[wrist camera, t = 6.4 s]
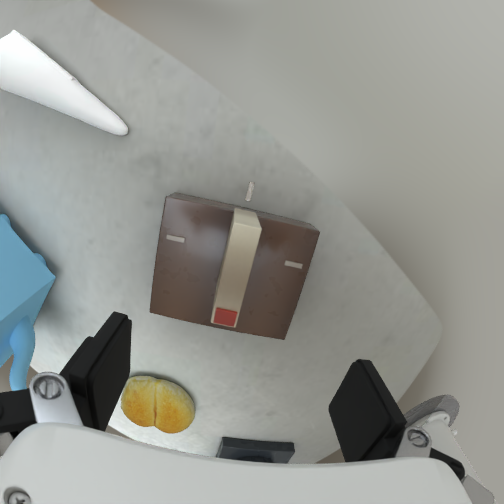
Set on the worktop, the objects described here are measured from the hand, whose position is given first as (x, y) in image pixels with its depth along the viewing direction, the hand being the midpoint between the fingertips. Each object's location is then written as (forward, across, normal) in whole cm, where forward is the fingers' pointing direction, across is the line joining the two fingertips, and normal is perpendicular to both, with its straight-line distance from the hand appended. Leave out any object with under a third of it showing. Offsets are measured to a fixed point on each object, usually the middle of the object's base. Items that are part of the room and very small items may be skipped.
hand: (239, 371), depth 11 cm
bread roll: (+16, +6, +20) cm, 26 cm away
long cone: (+15, +22, -11) cm, 29 cm away
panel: (+15, +1, 0) cm, 15 cm away
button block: (+16, -8, +29) cm, 34 cm away
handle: (+12, +1, -1) cm, 12 cm away
